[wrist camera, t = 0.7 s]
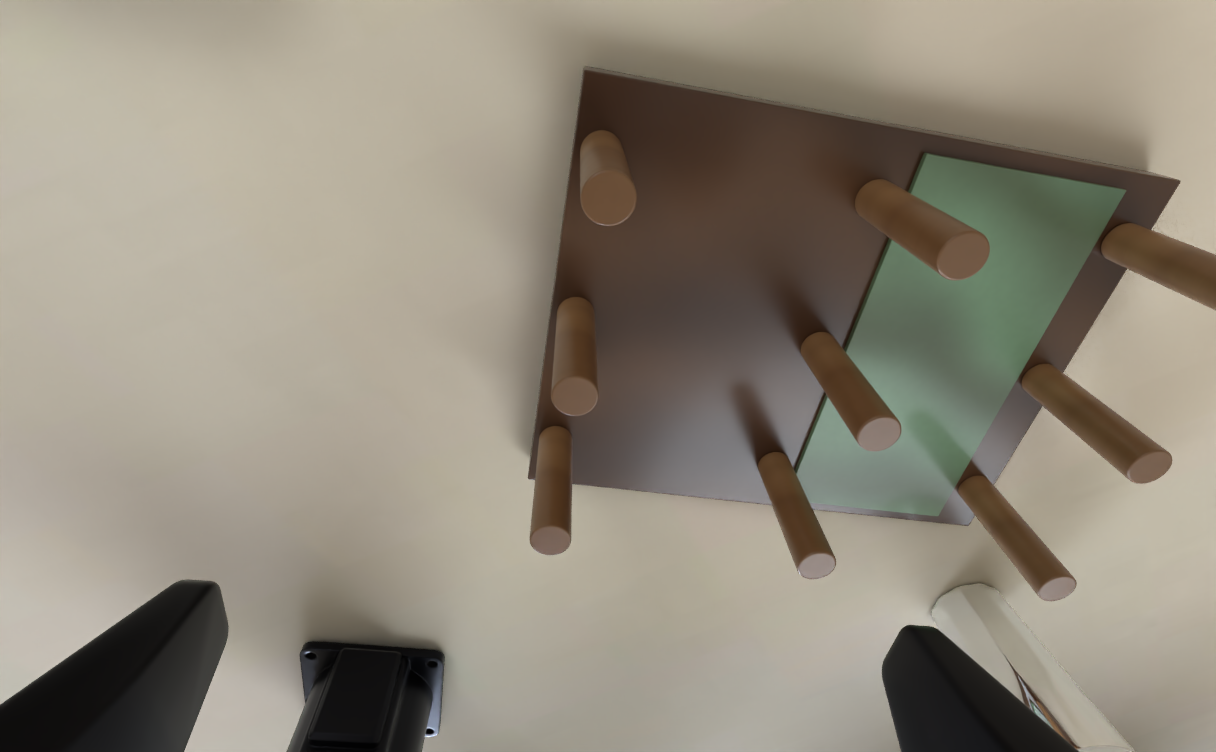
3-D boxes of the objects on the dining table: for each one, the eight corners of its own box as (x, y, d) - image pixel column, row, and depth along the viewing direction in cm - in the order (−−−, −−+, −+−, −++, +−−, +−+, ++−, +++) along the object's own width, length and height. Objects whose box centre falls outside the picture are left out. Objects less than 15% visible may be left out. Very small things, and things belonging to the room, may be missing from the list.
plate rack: (953, 506, 27) (1048, 631, 21) (530, 459, 24) (516, 586, 19) (1150, 171, 20) (1364, 232, 14) (583, 65, 17) (585, 90, 12)
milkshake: (902, 583, 29) (1040, 828, 20) (1020, 565, 29) (1211, 806, 20) (896, 645, 31) (1018, 889, 23) (1006, 629, 31) (1172, 869, 22)
